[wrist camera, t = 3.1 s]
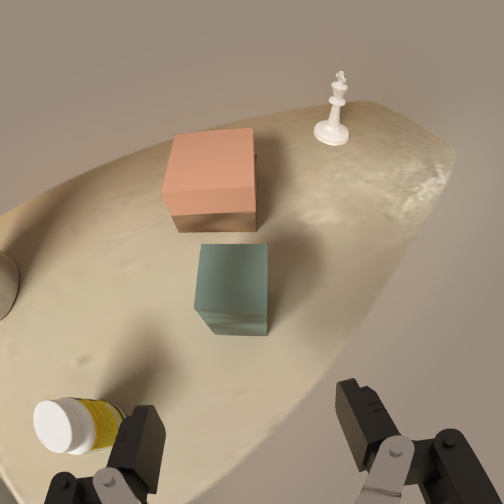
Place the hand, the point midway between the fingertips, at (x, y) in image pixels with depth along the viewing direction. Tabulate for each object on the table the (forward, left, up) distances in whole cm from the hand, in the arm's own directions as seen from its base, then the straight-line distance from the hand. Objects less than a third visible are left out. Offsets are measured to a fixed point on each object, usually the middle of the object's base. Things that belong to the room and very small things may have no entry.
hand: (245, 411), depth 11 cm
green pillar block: (-1, +8, -12) cm, 15 cm away
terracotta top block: (-4, +20, -9) cm, 23 cm away
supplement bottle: (-13, -4, -12) cm, 19 cm away
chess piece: (+10, +32, -12) cm, 36 cm away
